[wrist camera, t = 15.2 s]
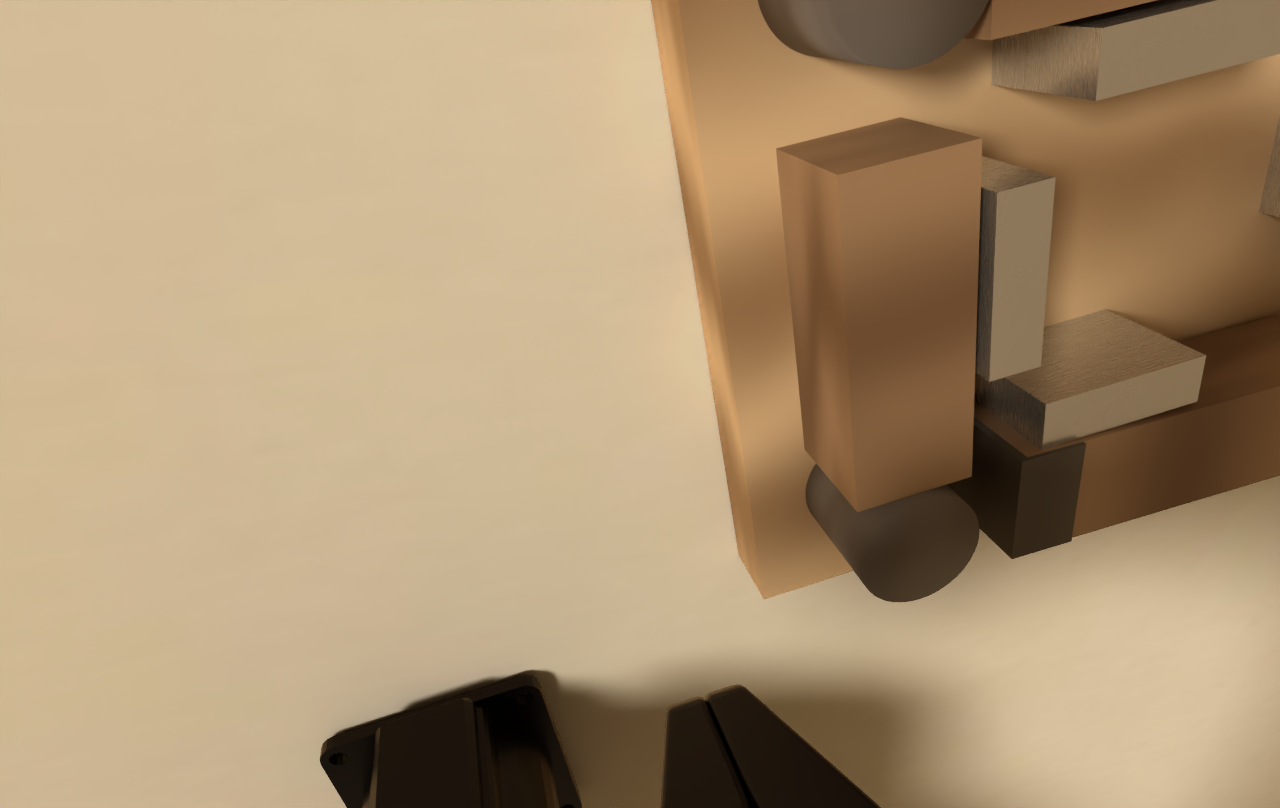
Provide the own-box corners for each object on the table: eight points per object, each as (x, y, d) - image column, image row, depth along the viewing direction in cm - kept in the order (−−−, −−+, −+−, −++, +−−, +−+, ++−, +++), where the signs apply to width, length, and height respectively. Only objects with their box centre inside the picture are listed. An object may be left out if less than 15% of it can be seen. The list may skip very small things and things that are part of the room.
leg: (1382, 284, 22) (1512, 323, 19) (1350, 379, 23) (1467, 428, 21) (947, 400, 20) (1025, 460, 17) (942, 495, 21) (1013, 564, 19)
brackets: (1276, 298, 21) (1394, 339, 19) (913, 406, 20) (985, 467, 17) (1361, -65, 17) (1527, -76, 15) (908, 43, 16) (1003, 52, 13)
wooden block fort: (1308, 375, 26) (1484, 451, 22) (738, 555, 24) (809, 680, 19) (1502, -343, 17) (1863, -457, 13) (623, -174, 15) (707, -244, 10)
